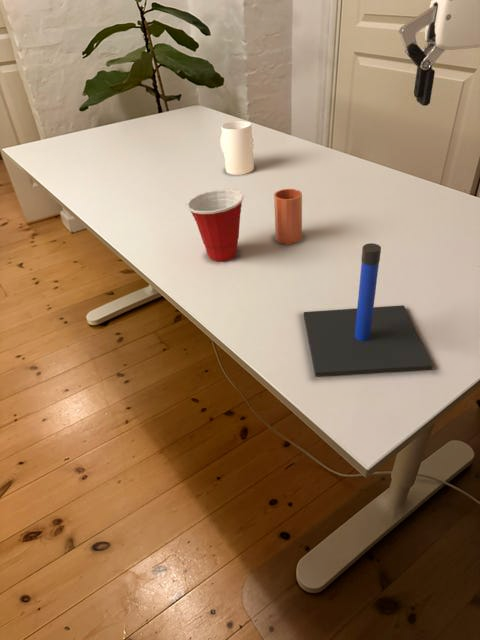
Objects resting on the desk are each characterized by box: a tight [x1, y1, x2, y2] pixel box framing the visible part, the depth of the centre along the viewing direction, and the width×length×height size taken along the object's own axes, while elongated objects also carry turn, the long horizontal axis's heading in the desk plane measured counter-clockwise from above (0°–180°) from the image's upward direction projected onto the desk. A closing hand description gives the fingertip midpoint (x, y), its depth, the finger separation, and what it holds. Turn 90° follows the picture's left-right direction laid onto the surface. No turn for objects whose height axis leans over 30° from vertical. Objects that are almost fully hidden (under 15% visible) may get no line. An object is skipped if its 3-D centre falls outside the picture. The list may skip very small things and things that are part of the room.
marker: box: [355, 242, 382, 341], centre depth 64 cm, size 2×2×15 cm
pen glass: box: [273, 188, 303, 245], centre depth 94 cm, size 5×5×10 cm
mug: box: [219, 120, 255, 176], centre depth 128 cm, size 8×12×12 cm
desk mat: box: [303, 305, 434, 377], centre depth 69 cm, size 16×14×1 cm
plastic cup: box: [186, 188, 245, 262], centre depth 89 cm, size 11×11×12 cm
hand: (461, 99), depth 58 cm, fingers open, 9 cm apart
